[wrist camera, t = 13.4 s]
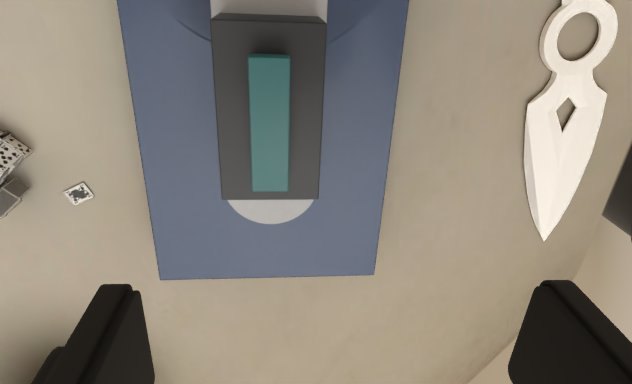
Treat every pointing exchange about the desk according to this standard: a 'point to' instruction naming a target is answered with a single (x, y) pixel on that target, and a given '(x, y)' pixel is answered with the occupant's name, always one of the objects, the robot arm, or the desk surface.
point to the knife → (581, 129)
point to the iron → (269, 103)
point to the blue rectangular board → (203, 156)
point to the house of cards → (6, 196)
